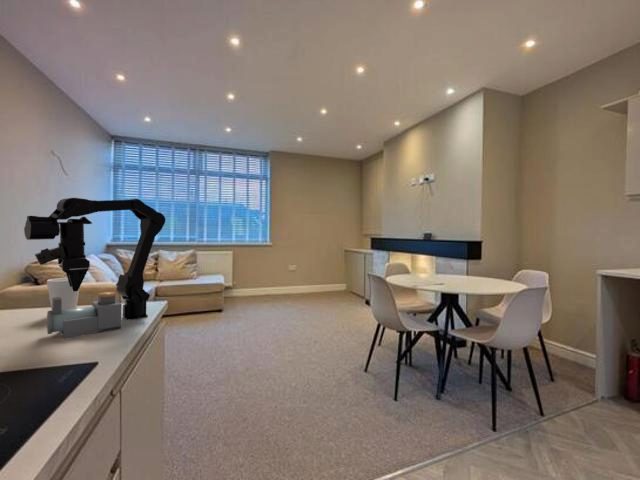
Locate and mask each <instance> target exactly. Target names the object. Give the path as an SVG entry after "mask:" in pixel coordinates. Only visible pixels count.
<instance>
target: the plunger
mask: <svg viewBox="0 0 640 480" xmlns="http://www.w3.org/2000/svg"><path fill="white" fill-rule="evenodd" d="M97 297H98V299H97V301H98V304H99V305H103V304H111V303H115V300H116V292H115V291H105V292H99V293H97Z"/></svg>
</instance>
